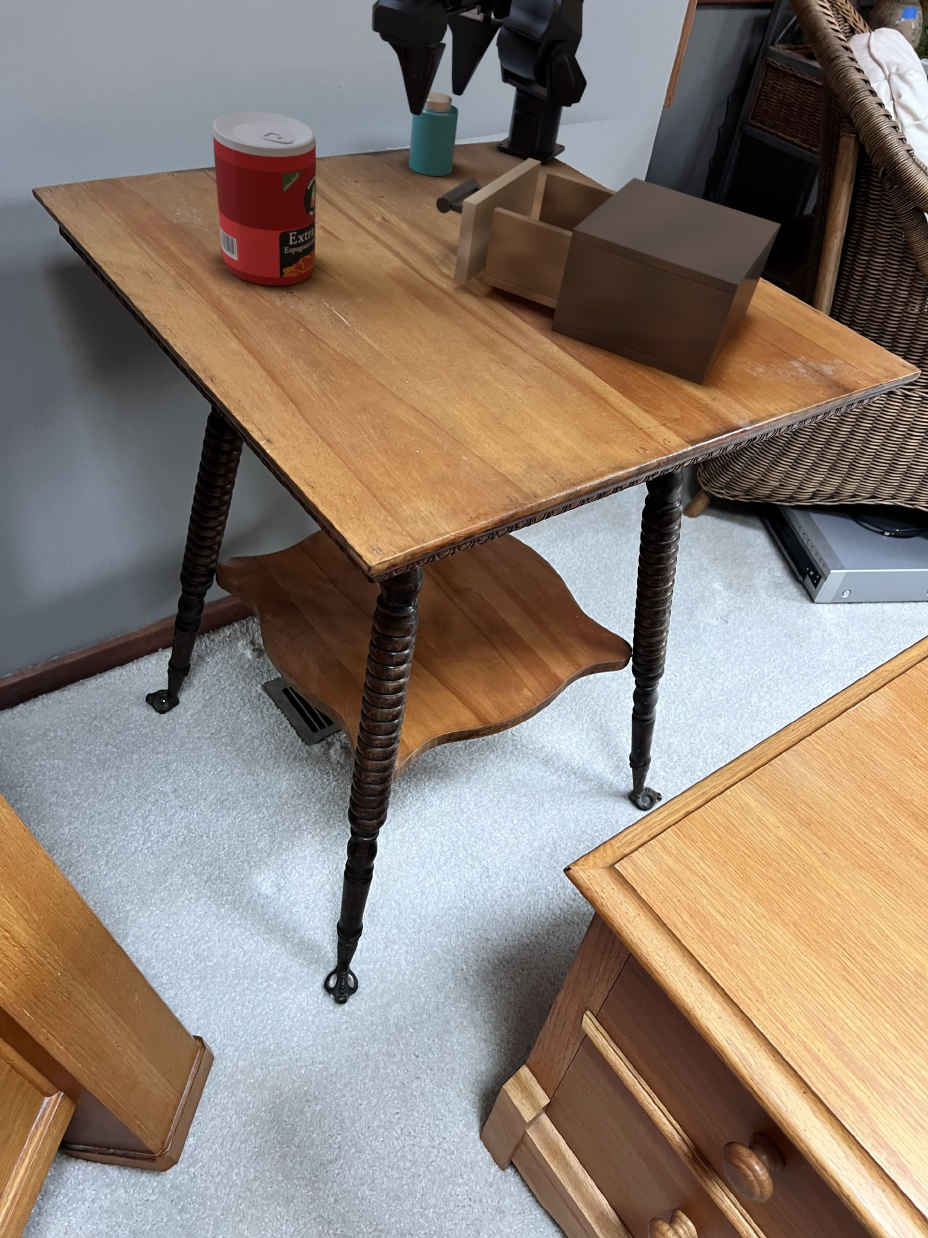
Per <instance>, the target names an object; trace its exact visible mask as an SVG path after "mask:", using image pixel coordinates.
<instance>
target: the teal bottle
mask: <svg viewBox="0 0 928 1238" xmlns="http://www.w3.org/2000/svg"><path fill="white" fill-rule="evenodd" d="M411 115H412V117H411V130H410V143H409V153H408V155H409V156H408V167H409V168H410V169H411V170H412V171H414V172H416V173H417V174H421V175H425V176H430V177H431V176H432V177H442V176H443V177H445V176H448V175H449V174H451V173H452V171H453V164H454V155H455V147H456V138H457V129H458V128H457V127H458V120H459V109H458V108H457V106H455V105H453V98H452V97H451V96H449V95H448V94H445V93H442V92H437V91H430V92H429V95H428V98H427V101H426V103H425V106H424V108H423V111H422V113H421V115H419V116H418V115H414V114H411Z"/></svg>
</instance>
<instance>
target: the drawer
mask: <svg viewBox="0 0 928 1238" xmlns="http://www.w3.org/2000/svg"><path fill="white" fill-rule="evenodd" d="M541 164H542V163H541V161H538V160H534V159H531V158H529V159H527V158H526V160H524V161H522V162H521V163H520V164H518V165H516V166H515V167H513V168H512V169H510V170H509V171H507V172H505V173H504V174H502V175H501V176H499V177H498V178H496V179H495V180H493V181H492V182H490V183H489V184H487V185H485V186H482V185H480V182H479V181H478V179H476V178H475V177H470V178H468V179H467V180H465V181H463V182H462V183H460V184H458V185H457V186H455V187H454V188H452V189H451V190H449V191H447V192H445V193H444V194H442V195H440V196H439V197H437V199H436V201H435V206H436V209H437V210H438V212H439V213H441V214H448V213H449V212H454V213H457V214H460V215H461V219H460V227H459V235H458V244H457V251H456V258H455V259H456V260H455V268H454V273H453V280H454V281H457V282H459V283H462V284H465V285H466V284H468V283H469V282H470V281H471V280H472V279H474V278H475V277H476V276H478V275H479V274H480V273H482V271H484V275H483V279H482V280H483V281H482V283H483V284H486V285H489V286H492V287H494V288H497V289H499V290H502V291H505V292H508V293H511V294H513V295H516V296H519V297H521V298H524V299H527V300H529V301H533V302H535V303H538V304H541V305H543V306H546V307H549V308H551V309H554V310H556V306H557V301H558V297H559V292H560V287H561V283H562V278H563V274H564V269H565V265H566V260H567V255H568V251H569V246H570V242H571V237H572V232H573V229H574V228H575V227H576V226H577V225H578V224H580V223H581V222H582V221H583V220H584V219H586V218H587V217H588V216H589V215H590V214H592V213H593V212H594V211H595V210H596V209H597V208H599V207H600V206H601V205H602V204H603V203H605V202H606V201H607V200H608V199H609V198H610V197H612V196H613V195H614V194H615V193H616V192H617V191H616V190H613V189H611V188H607V187H604V186H601V185H598V184H595V183H592V182H589V181H586V180H583V179H579V178H577V177H572V176H570V175H566V174H564V173H561V172H557V171H554V170H548V171H547V173H546V177H545V182H544V188H543V193H542V199H541V204H540V210H539V215H538V220H537V219H536V218H532V213H533V207H534V202H535V197H536V191H537V186H538V182H539V181H538V180H539V176H540V175H539V174H540V169H541Z"/></svg>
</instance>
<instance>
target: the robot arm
mask: <svg viewBox="0 0 928 1238" xmlns="http://www.w3.org/2000/svg"><path fill="white" fill-rule="evenodd" d="M584 2H585V0H376V1H375V2H374V4H372V9H371V30H372V32H374V33H378V35H379V37H380V39H381V41H383V42H385V43H388V44H389V46H390V47H391V49H392V50H393V51H394V52H395V54H396V56H397V60H398V63H399V68H400V70H401V75H402V79H403V84H404V91H405V94H406V99H407V103H408V108H409V112H410V114H411V115H413V114H414V115H418V116H419V115H421V113H422V111H423V108H424V106H425V103H426V101H427V98H428V95H429V92H431V90H432V86H433V83H434V81H435V78H436V75H437V72H438V69H439V67H440V64H441V61H442V58H443V55H444V53H445V50H446V47H447V43H446V42H443V40H444V38H445V36H446V33H447V30H448V28H449V30H450V32H451V93H452V94H453V95H454V96H458V97H461V96H463V94H464V93H465V91H466V89H467V87H468V86H469V83H470V82H471V80H472V78H473V76H474V74H475V73H476V71H477V69H478V67H479V65H480V63H481V62H482V59H483V58H484V56H485V54H486V53H487V51H488V49H489V47H490V45H491V44H492V42H493V41H494V38H495V37H496V41H495V47H496V48H497V58H498V60H499V68H500V75H501V76H500V77H501V82H502V83H503V84H505V85H510V86H511V87H513V88H515V91H514V97H513V98H514V99H513V103H512V104H513V105H512V111H511V116H510V123H509V131H508V136H507V137H506V138H504V139H502V140H500V141H499V142H497V143H496V146H495V149H497V150H499V151H502V152H505V153H509V154H512V155H515V156H518V157H521V158H524V159H526V160H527V159H529V158H531V159H534V160H538V161H541V164H547V163H549V162H550V161H552V160H553V159H555V158H556V157H557V156H559V155H560V154H562V153H564V152H565V150H566V146H565V145H563V144H560V143H557V141H558V137H559V131H560V125H561V119H562V114H563V109H564V108H572V105H574V104H580V102H581V100H582V97H583V95H584V93H585V90H586V88H587V85H588V82H587V80H586V77H585V75H584V73H583V70H582V68H581V66H580V64H579V61H578V59H577V57H576V54H577V52H578V49H579V47H580V43H581V41H582V38H583V22H584V21H583V16H584V15H583V14H584V13H583V12H584ZM497 33H498V34H497ZM496 35H497V36H496Z"/></svg>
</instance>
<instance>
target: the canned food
mask: <svg viewBox="0 0 928 1238" xmlns="http://www.w3.org/2000/svg"><path fill="white" fill-rule="evenodd" d="M212 140H213V156H214V157H213V158H214V168H215V183H216V195H217V196H216V197H217V207H218V219H219V220H218V221H219V232H220V233H219V234H220V247H221V255H222V260H223V262H224V264H225V267H226V268H227V270H228V271H229V272H230V273H231V274H233V275H234V276H236V277H237V278H239V279H241V280H243V281H245V282H248V283H252V284H257V285H260V286H261V285H262V286H268V287H269V286H271V287H273V286H275V287H281V286H282V287H283V286H289V285H294V284H298V283H300V282H302V281H305V280H306V279H307V278H309V277H310V275H311V274H312V273H313V270H314V266H315V262H316V210H317V209H316V207H317V206H316V202H317V201H316V197H317V194H316V193H317V188H316V187H317V145H316V144H317V142H316V134H315V131H314V130H313V128H311V127H310V126H309V125H307V124H305V123H304V122H302V121H300V120H298V119H296V118H292V117H290V116H286V115H282V114H277V113H273V112H265V111H237V112H232V113H228V114H224V115H222V116H219V117H218V118H216V119H215V120H214V121H213V123H212Z"/></svg>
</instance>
